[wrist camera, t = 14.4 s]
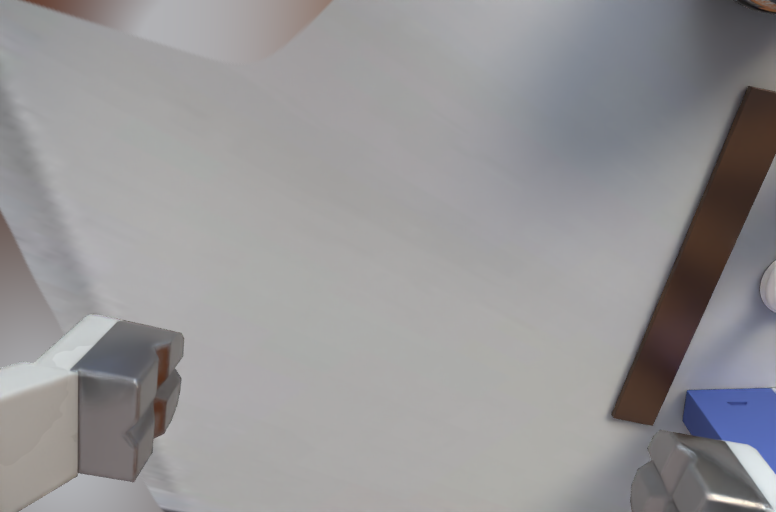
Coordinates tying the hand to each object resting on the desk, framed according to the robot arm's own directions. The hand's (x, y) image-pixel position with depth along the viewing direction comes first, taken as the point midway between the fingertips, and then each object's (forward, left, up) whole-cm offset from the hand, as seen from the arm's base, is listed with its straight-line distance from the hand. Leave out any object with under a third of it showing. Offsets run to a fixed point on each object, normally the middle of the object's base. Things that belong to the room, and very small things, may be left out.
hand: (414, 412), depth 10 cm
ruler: (+6, +20, -29) cm, 36 cm away
